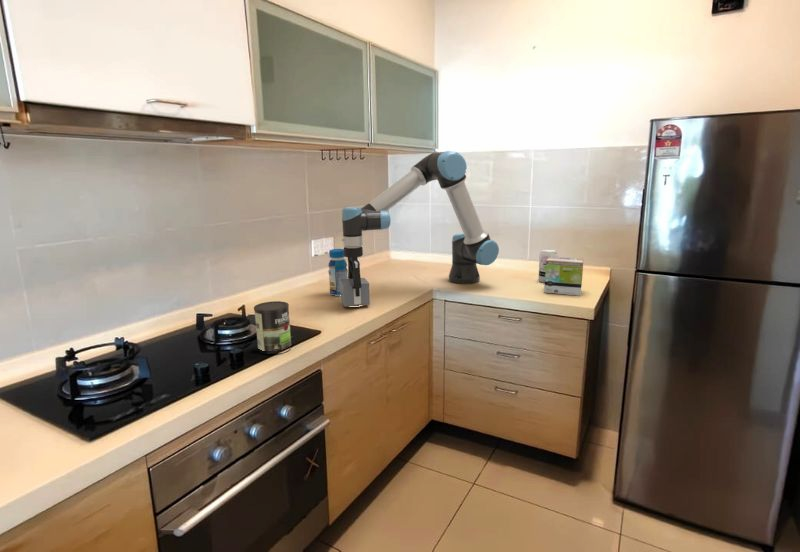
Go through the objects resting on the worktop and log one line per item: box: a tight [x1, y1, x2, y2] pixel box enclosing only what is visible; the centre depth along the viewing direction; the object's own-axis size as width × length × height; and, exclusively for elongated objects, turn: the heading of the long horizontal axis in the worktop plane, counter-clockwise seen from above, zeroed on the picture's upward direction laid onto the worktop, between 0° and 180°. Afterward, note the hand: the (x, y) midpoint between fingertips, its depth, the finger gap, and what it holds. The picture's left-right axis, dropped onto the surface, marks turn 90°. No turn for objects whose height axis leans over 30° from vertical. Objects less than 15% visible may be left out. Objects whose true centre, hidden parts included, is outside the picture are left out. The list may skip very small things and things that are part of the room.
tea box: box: [543, 256, 584, 297], centre depth 200 cm, size 15×10×15 cm, turn 68°
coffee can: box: [253, 300, 292, 351], centre depth 142 cm, size 10×10×14 cm
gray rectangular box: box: [340, 277, 371, 308], centre depth 187 cm, size 10×10×9 cm
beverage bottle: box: [327, 248, 348, 297], centre depth 204 cm, size 8×8×20 cm
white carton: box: [537, 248, 559, 284], centre depth 219 cm, size 8×8×15 cm
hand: (355, 300), depth 188 cm, fingers closed on gray rectangular box, 10 cm apart
